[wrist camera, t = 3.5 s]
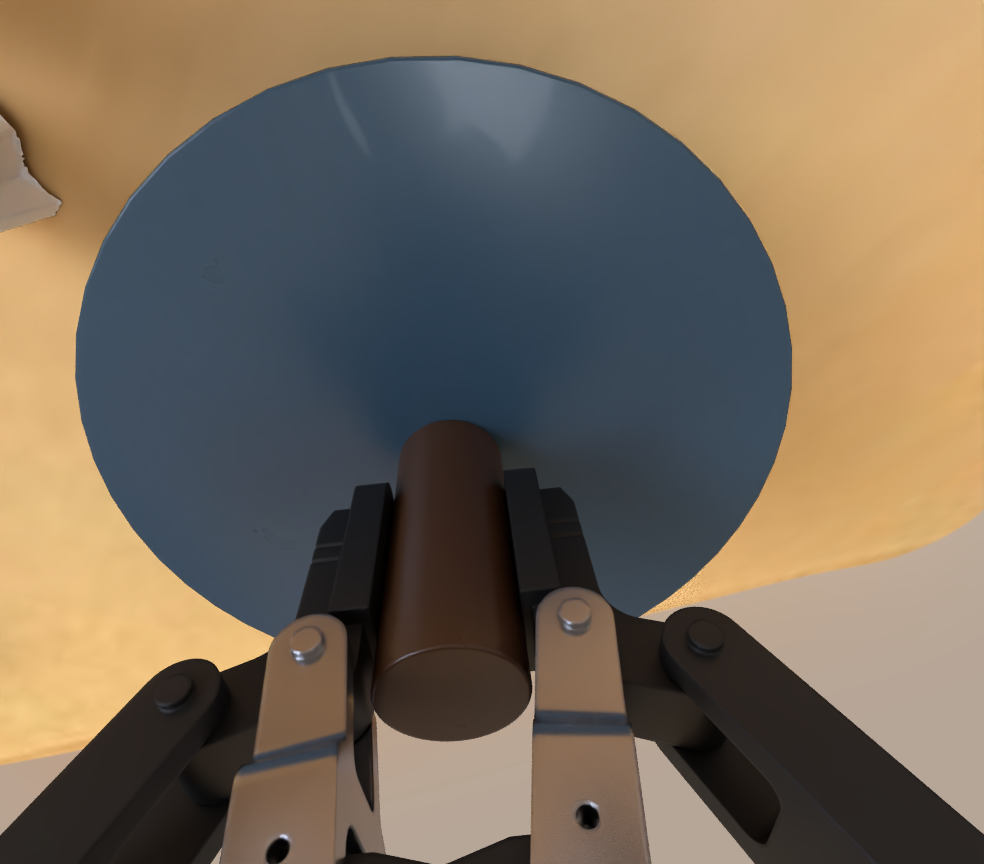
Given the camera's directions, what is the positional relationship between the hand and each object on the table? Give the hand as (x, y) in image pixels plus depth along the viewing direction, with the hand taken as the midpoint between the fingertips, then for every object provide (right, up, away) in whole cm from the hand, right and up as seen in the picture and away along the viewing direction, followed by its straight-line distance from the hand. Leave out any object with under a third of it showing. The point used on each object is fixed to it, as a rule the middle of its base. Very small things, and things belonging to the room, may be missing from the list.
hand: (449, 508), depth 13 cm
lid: (0, +1, +2) cm, 2 cm away
